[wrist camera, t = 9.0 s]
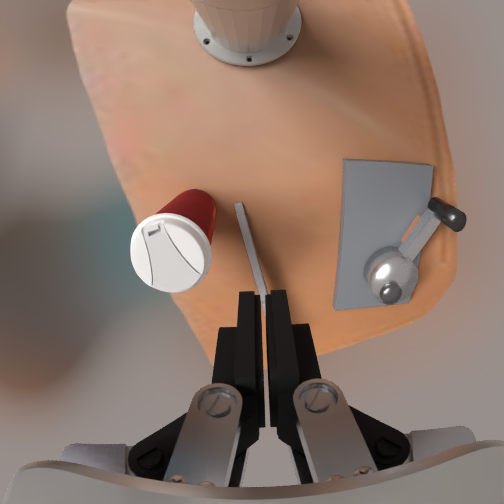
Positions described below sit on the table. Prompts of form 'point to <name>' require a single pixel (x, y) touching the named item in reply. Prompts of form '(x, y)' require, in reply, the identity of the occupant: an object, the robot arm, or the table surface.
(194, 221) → the paper cup
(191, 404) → the robot arm
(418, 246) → the metal crank handle
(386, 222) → the stand
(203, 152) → the table surface
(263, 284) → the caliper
